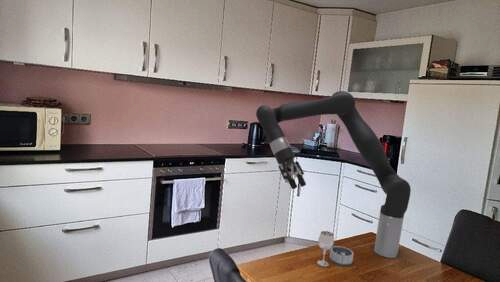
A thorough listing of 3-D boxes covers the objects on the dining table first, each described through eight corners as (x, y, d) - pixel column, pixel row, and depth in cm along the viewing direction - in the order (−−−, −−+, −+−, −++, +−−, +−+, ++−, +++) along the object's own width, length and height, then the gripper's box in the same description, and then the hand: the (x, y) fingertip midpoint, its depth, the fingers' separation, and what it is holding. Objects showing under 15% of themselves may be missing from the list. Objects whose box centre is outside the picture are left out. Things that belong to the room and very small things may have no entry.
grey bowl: (331, 253, 138) (333, 244, 138) (353, 259, 135) (354, 250, 134) (327, 262, 130) (328, 252, 130) (350, 268, 127) (351, 258, 126)
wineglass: (330, 268, 126) (335, 237, 124) (315, 265, 127) (319, 235, 125) (330, 261, 131) (334, 232, 130) (315, 258, 132) (319, 229, 131)
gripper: (281, 146, 130) (299, 185, 126) (297, 145, 142) (314, 181, 138) (266, 155, 133) (283, 193, 129) (282, 154, 145) (299, 188, 141)
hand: (299, 187), depth 133 cm, fingers open, 8 cm apart
